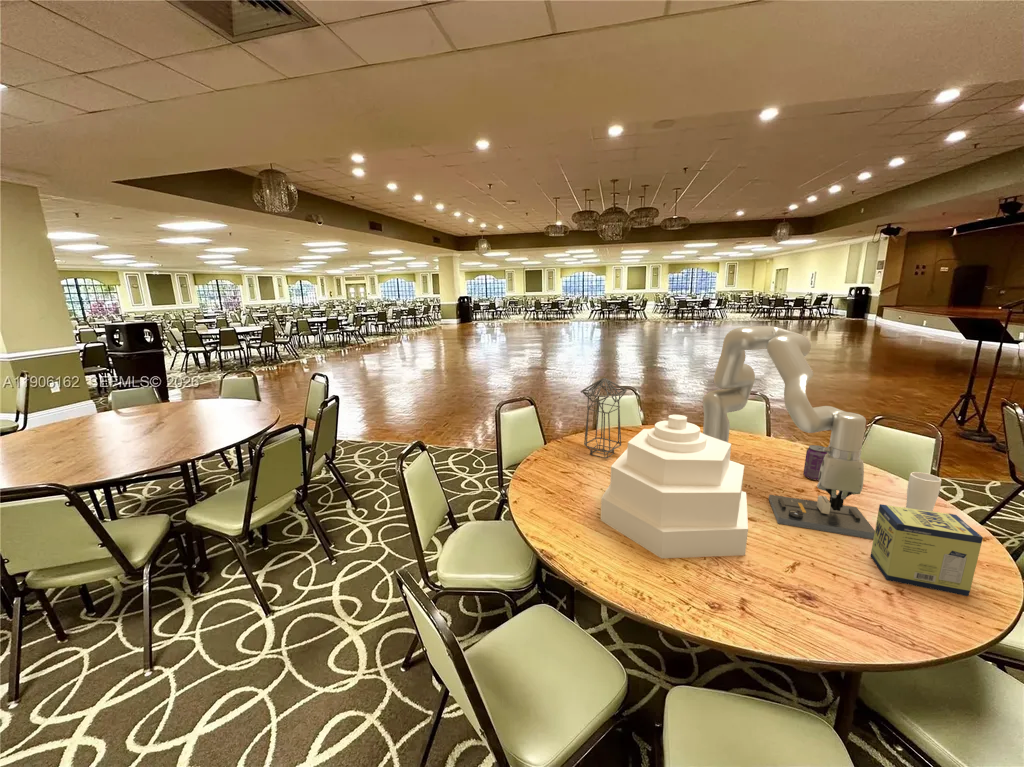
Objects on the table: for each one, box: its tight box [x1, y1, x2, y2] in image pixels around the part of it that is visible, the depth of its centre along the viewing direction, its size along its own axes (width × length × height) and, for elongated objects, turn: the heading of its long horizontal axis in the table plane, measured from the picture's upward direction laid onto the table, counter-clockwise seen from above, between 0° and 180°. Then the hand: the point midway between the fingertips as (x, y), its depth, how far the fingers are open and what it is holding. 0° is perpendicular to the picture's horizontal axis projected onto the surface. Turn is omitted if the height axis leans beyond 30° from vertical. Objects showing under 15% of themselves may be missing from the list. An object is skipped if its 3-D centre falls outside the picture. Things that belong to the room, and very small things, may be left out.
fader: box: [817, 495, 831, 514], centre depth 129 cm, size 2×5×4 cm, turn 157°
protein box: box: [870, 503, 984, 597], centre depth 101 cm, size 10×16×16 cm
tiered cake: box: [600, 414, 749, 559], centre depth 127 cm, size 44×45×34 cm
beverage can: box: [803, 444, 828, 481], centre depth 156 cm, size 7×7×12 cm
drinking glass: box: [905, 471, 942, 512], centre depth 124 cm, size 7×7×15 cm
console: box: [768, 494, 875, 540], centre depth 129 cm, size 24×16×3 cm, turn 67°
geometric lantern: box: [580, 377, 628, 459], centre depth 180 cm, size 16×16×35 cm
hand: (835, 508), depth 128 cm, fingers closed
